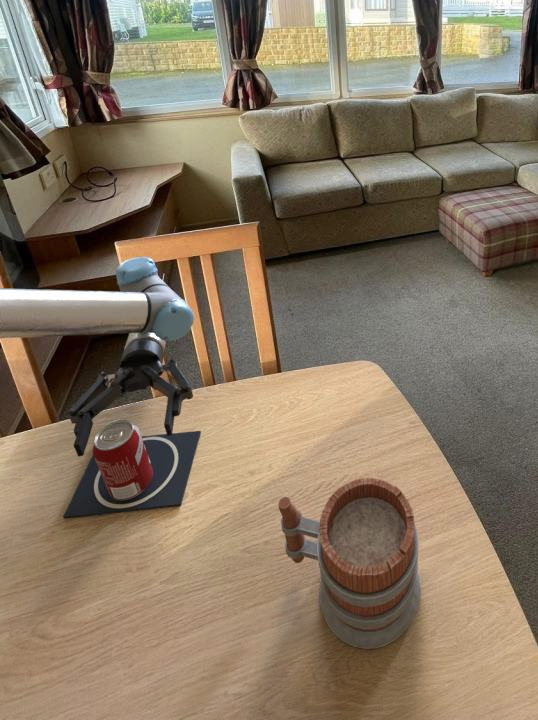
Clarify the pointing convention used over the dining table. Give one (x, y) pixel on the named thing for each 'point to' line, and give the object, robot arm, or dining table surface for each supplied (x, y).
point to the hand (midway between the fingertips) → (124, 440)
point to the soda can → (122, 459)
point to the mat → (164, 490)
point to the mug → (361, 560)
